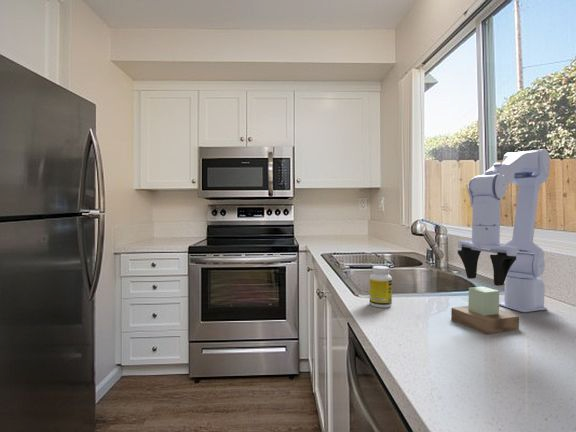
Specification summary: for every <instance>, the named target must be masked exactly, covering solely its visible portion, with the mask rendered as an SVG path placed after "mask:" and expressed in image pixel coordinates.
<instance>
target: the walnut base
mask: <svg viewBox="0 0 576 432" xmlns="http://www.w3.org/2000/svg"><path fill="white" fill-rule="evenodd" d="M450 313H451V314H450V315H451V318H450V319H451V320H452V321H453V322H456V323H459V324H461V325H462V326H463V325H464V326H466V327H468V328H470V329H473V330H475V331H477V330H478V331H477V332H480V333H482V334H485V335H489V334H495V333H496V334H497V333H502V332H508V331H515V330H520V316H519V315H518V314H513V313H510V312H507V311H504V310H501V309H499V314H494V315H486V316H483V315H481V314H478V313H475V312H473V311H470V310H468V305H463V306H456V307H451V311H450Z"/></svg>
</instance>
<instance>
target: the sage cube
mask: <svg viewBox="0 0 576 432" xmlns="http://www.w3.org/2000/svg"><path fill="white" fill-rule="evenodd" d="M499 302H500V290H497V289H495V288H494V289H493V288H491V287H486V286H475V287H474V286H473V287H468V305H467V306H468V310H470V311H473V312H475V313H478V314H481V315H483V316H486V315H494V314H499V310H500V305H499Z"/></svg>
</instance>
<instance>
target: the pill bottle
mask: <svg viewBox="0 0 576 432" xmlns="http://www.w3.org/2000/svg"><path fill="white" fill-rule="evenodd" d="M372 272H373V273H371V274H370V275H369V304H370V306H371V307H374V308H381V309H382V308H384V309H387V308H390V307H391V306H392V303H393V302H392V301H393V298H392V297H393V293H392V292H393V276H391V275H390V274H389V273H390V267H389V266H385V265H374V266H373V265H372Z"/></svg>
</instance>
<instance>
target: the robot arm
mask: <svg viewBox="0 0 576 432" xmlns="http://www.w3.org/2000/svg"><path fill="white" fill-rule="evenodd" d="M550 165H551V158H550V153H549V151H548V150H547V149H546V148H541V149H531V150H523V151H517V152H515V151H514V152H506V153H505V154H504V155H503V158H502V162H495V163H493V164H492V166H491V167H490V168H489V169H488V170H486V171H485V172H484V173H483V174H481V175H475V176H474V177H472V178H471V179H470V180H469V182H468V186H467V193H468V196H469V204H470V206H471V207H472V217H471V218H472V221H471V224H472V225H471V227H472V228H471V232H472V233H471V240H465V239H464V240H458V241H457V243H458V245H457V248H458V250H457V254H458V256H459V258H460V259H461V262H462V264H463V267H464V269H465V273H466V277H467V279H469V280H471V279H472V280H473V279H476V277H477V273H478V261H479V257H480V255H481V252H485V253H493V254H489V257H490V261H491V264H492V270H493V271H492V272H493V283H494V284H493V285H494V286H497V287H498V286H499V287H500V286H504V301H501V302H500V301H499V306H501V307H504V308H508V309H511V310H514V311H517V312H520V313H530V312H536V311H538V312H539V311H544V310H548V307H546V306H545V293H546V292H545V290H546V288H545V283H544V281H543V279H541V276H542V275H543V274H544V271H545V268H546V267H545V265H546V264H545V252H544V250H543V248H542V247H540V246H539V245H538V244H537V243H535V242H534V236H535V234H534V233H535V228H536V218H537V210H538V204H539V203H538V202H539V201H538V200H539V193H540V190H541V184H544V183H545V182H547V181H548V178H549V175H550ZM510 183H511V184H513V185H517V187H518V190H517V191H518V192H517V199H516V206H515V215H514V224H513V229H512V239H511V240H509V241H508V242H506V243H505V244H501V243H500V236H501V235H500V232H501V231H500V230H501V227H500V226H501V199H503V198H505V193H506V191H507V188H508V186H509V185H510Z"/></svg>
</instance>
